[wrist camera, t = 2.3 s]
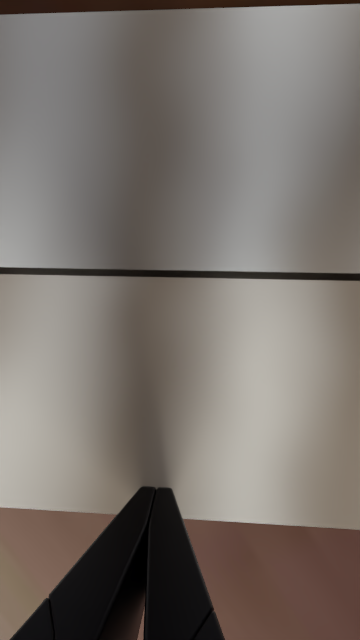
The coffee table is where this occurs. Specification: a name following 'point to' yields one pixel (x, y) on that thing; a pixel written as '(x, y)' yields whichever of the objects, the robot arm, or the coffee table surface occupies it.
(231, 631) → the coffee table surface
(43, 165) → the plank
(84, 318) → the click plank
